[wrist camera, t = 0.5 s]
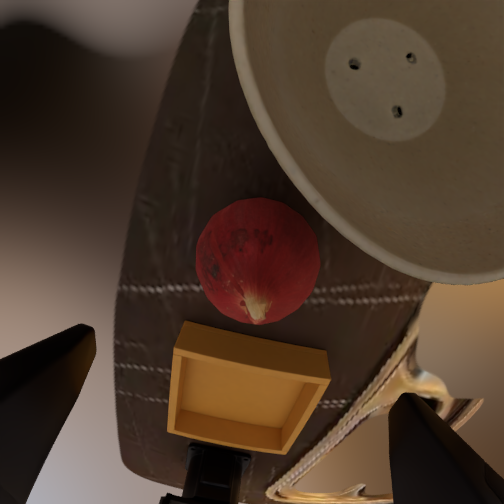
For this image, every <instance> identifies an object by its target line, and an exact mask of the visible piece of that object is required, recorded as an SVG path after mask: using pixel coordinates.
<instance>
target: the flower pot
mask: <svg viewBox="0 0 504 504" xmlns="http://www.w3.org/2000/svg"><path fill="white" fill-rule="evenodd" d="M229 31H230V39H231V46H232V52H233V57H234V61H235V65H236V69H237V73H238V77H239V80H240V84H241V86H242V89H243V92H244V95H245V97H246V100H247V103H248V105H249V108H250V111H251V113H252V115H253V118H254V120H255V122H256V124H257V126H258V128H259V130H260V132H261V134H262V136H263V137H264V139H265V140H266V142H267V144H268V147H269V148H270V150H271V151H272V153H273V154H274V156H275V157H276V159H277V161H278V162H279V164H280V166H281V167H282V169H283V170H284V171H285V173H286V174H287V176H288V177H289V178H290V180H291V181H292V182H293V184H294V185H295V186H296V187H297V189H298V190H299V191H300V192H301V193H302V194H303V196H304V197H305V198H306V199H307V201H308V202H309V203H310V204H311V205H312V206H313V207H314V208H315V210H316V211H317V212H318V213H319V214H320V215H321V216H322V217H323V218H324V219H325V220H326V221H327V222H328V223H330V224H331V225H332V226H333V227H334V228H335V229H336V230H337V231H338V232H339V233H340V234H341V235H343V236H344V237H345V238H347V239H348V240H349V241H351V242H352V243H353V244H355V245H356V246H357V247H359V248H360V249H361V250H363V251H364V252H365V253H367V254H369V255H370V256H372V257H374V258H376V259H377V260H379V261H381V262H382V263H384V264H386V265H387V266H389V267H391V268H393V269H395V270H398V271H400V272H402V273H405V274H407V275H410V276H413V277H415V278H419V279H423V280H426V281H430V282H436V283H442V284H451V285H472V284H481V283H488V282H493V281H497V280H500V279H504V0H229ZM408 54H410V55H411V56H410V58H406V56H407V55H408ZM351 65H355V66H357V67H358V69H356V70H354V69H352V68H350V66H351ZM398 107H400V109H401V112H402V114H401V115H400V114H399V113H398V111H397V109H398Z"/></svg>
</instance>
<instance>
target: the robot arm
mask: <svg viewBox="0 0 504 504" xmlns="http://www.w3.org/2000/svg"><path fill="white" fill-rule="evenodd" d="M95 355H96V339H95V330H94V328H93V327H91V326H88V325H85V324H78V325H75V326H73V327H71V328H69V329H67V330H64V331H62V332H60V333H57V334H55V335H53V336H51V337H49V338H47V339H44V340H42V341H40V342H37V343H35V344H33V345H31V346H29V347H26V348H24V349H22V350H20V351H17V352H15V353H13V354H11V355H8V356H6V357H4V358H2V359H0V504H26V502H27V499H28V497H29V495H30V492H31V490H32V488H33V486H34V483H35V481H36V479H37V477H38V475H39V473H40V471H41V469H42V467H43V464H44V463H45V460H46V458H47V456H48V454H49V452H50V450H51V448H52V446H53V444H54V442H55V440H56V438H57V436H58V435H59V433H60V431H61V429H62V427H63V425H64V423H65V421H66V419H67V417H68V415H69V414H70V412H71V410H72V408H73V406H74V404H75V402H76V400H77V398H78V396H79V394H80V392H81V389H82V386H83V384H84V382H85V379H86V377H87V374H88V372H89V370H90V367H91V365H92V363H93V360H94V358H95ZM388 421H389V457H390V458H389V459H390V469H391V479H392V490H393V502H394V504H504V479H503V478H502V477H501V476H500V475H499V474H497V473H496V472H495V471H494V470H493V469H492V468H491V467H490V466H489V465H488V464H487V463H486V462H485V461H484V460H483V459H482V458H481V457H480V456H479V455H478V454H477V453H476V452H475V451H474V450H473V449H472V448H471V447H470V446H469V445H468V444H467V443H466V442H465V441H464V440H463V439H462V438H461V437H460V436H459V435H458V434H457V433H456V432H455V431H454V430H453V429H452V428H451V427H450V426H449V425H448V424H447V423H446V422H445V421H443V420H442V419H441V418H440V417H439V416H438V415H437V414H436V413H435V412H434V411H433V410H432V409H431V408H430V407H429V406H428V405H427V404H426V403H425V402H424V401H423V400H422V399H421V398H420V397H419V396H418V395H417V394H415V393H407V392H405V393H403V394H401V395H400V397H399V398H398V400H397V401H396V402H395V404H394V405H393V406H392V408H391V409H390V411H389V416H388ZM250 461H251V456H250V455H248V454H242V453H236V452H230V451H225V450H220V449H215V448H210V447H206V446H201V445H197V444H190V445H189V448H188V454H187V460H186V466H185V469H186V470H187V471H188V472H187V476H186V480H185V485H184V489H183V494H182V497H180V496H175V495H172V494H170V493H167V494H166V496H165V497H161V499H160V502H159V504H238V502H239V493H240V484H241V478H242V476H243V474H244V472H245V470H246V468H247V467H248V465H249V463H250Z"/></svg>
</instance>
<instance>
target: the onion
mask: <svg viewBox="0 0 504 504" xmlns="http://www.w3.org/2000/svg"><path fill="white" fill-rule="evenodd" d="M319 269H320V256H319V249H318V242H317V236H316V234H315V233H314V232H313V230H312V229H311V227H310V226H309V224H308V223H307V221H306V220H305V219H304V217H303V216H302V215H300V214H299V213H297V212H296V211H294V210H293V209H292V208H290V207H289V206H287V205H286V204H284V203H283V202H280V201H276V200H271V199H267V198H263V197H258V198H250V199H243V200H237V201H236V202H234V203H232V204H230V205H229V206H227V207H225V208H224V209H222V210H220V211H219V212H217V213H216V214H214V215H213V216H212V217H211V218H210V220H209V222H208V223H207V225H206V227H205V228H204V230H203V232H202V233H201V235H200V237H199V239H198V243H197V246H196V272H197V275H198V278H199V280H200V283H201V285H202V287H203V290H204V292H205V294H206V296H207V298H208V299H209V300H210V301H211V302H212V304H213V305H214V306H215V307H216V308H217V309H218V310H219V311H220V312H221V313H223V314H224V315H226V316H228V317H231V318H233V319H235V320H237V321H239V322H243V323H251V324H256V325H262V324H266V323H271V322H275V321H279V320H281V319H282V318H284V317H286V316H287V315H289V314H291V313H292V312H294V311H296V310H297V309H298V308H299V307H300V306H301V305H302V304H303V302H304V301H305V300H306V299H307V297H308V296H309V295H310V294H311V292H312V290H313V288H314V285H315V282H316V279H317V276H318V272H319Z"/></svg>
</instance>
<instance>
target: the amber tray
mask: <svg viewBox="0 0 504 504" xmlns="http://www.w3.org/2000/svg"><path fill="white" fill-rule="evenodd" d="M330 381H331V375H330V369H329V363H328V358H327V352H326V351H325V350H320V349H314V348H308V347H303V346H298V345H292V344H287V343H282V342H277V341H272V340H267V339H262V338H258V337H253V336H248V335H244V334H239V333H235V332H231V331H226V330H222V329H218V328H214V327H209V326H205V325H201V324H197V323H193V322H189V321H185V322H184V324H183V327H182V329H181V331H180V334H179V336H178V339H177V341H176V343H175V346H174V351H173V361H172V372H171V383H170V396H169V410H168V426H167V432H170V433H174V434H177V435H181V436H185V437H189V438H193V439H197V440H202V441H206V442H211V443H215V444H220V445H225V446H230V447H236V448H241V449H247V450H254V451H260V452H267V453H275V454H283V455H286V453H287V452H288V450H289V449H290V447H291V446H292V444H293V443H294V441H295V440H296V438H297V436H298V435H299V433H300V432H301V430H302V429H303V427H304V425H305V424H306V422H307V421H308V419H309V417H310V416H311V414H312V412H313V411H314V409H315V407H316V406H317V404H318V402H319V400H320V399H321V397H322V395H323V393H324V392H325V390H326V388H327V386H328V385H329V383H330Z"/></svg>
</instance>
